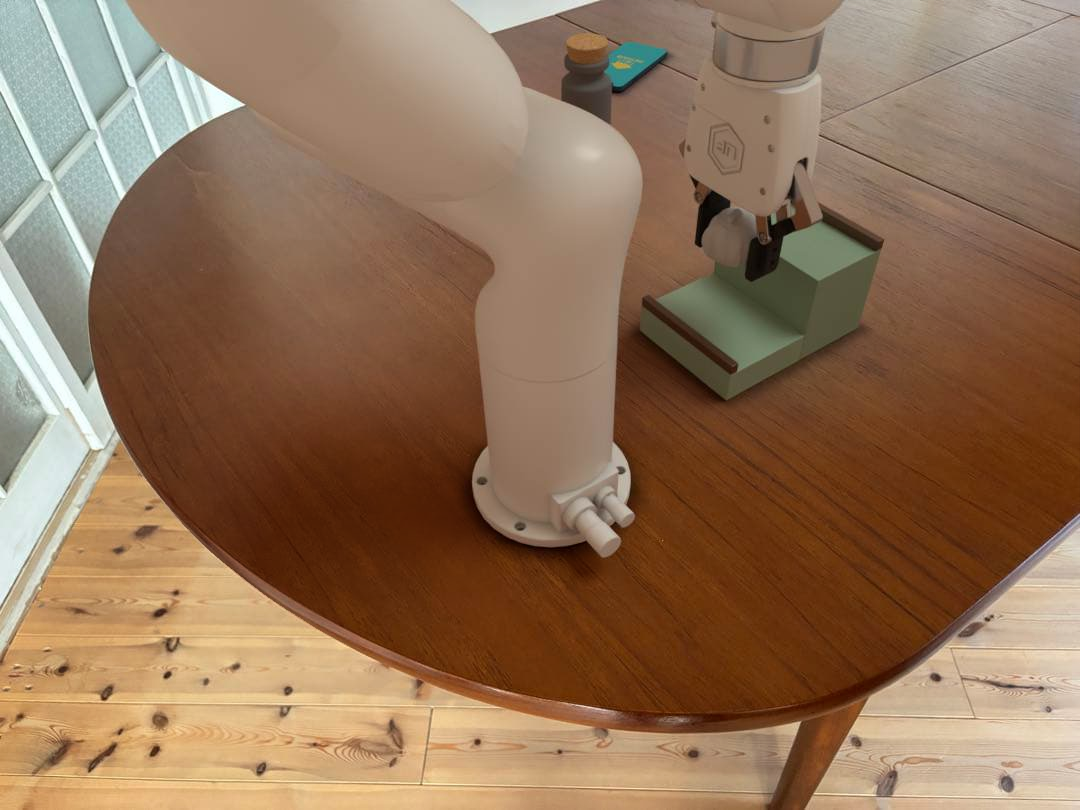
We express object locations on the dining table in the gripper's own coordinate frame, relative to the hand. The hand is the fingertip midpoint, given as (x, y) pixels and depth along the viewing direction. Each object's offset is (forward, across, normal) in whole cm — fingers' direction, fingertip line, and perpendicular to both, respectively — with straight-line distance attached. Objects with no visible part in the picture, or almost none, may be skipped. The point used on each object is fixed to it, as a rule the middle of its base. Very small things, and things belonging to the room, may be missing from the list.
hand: (734, 255), depth 74 cm
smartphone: (+10, -54, +31) cm, 63 cm away
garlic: (+1, 0, 0) cm, 1 cm away
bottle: (+10, -35, +10) cm, 38 cm away
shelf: (+10, 0, +4) cm, 11 cm away
